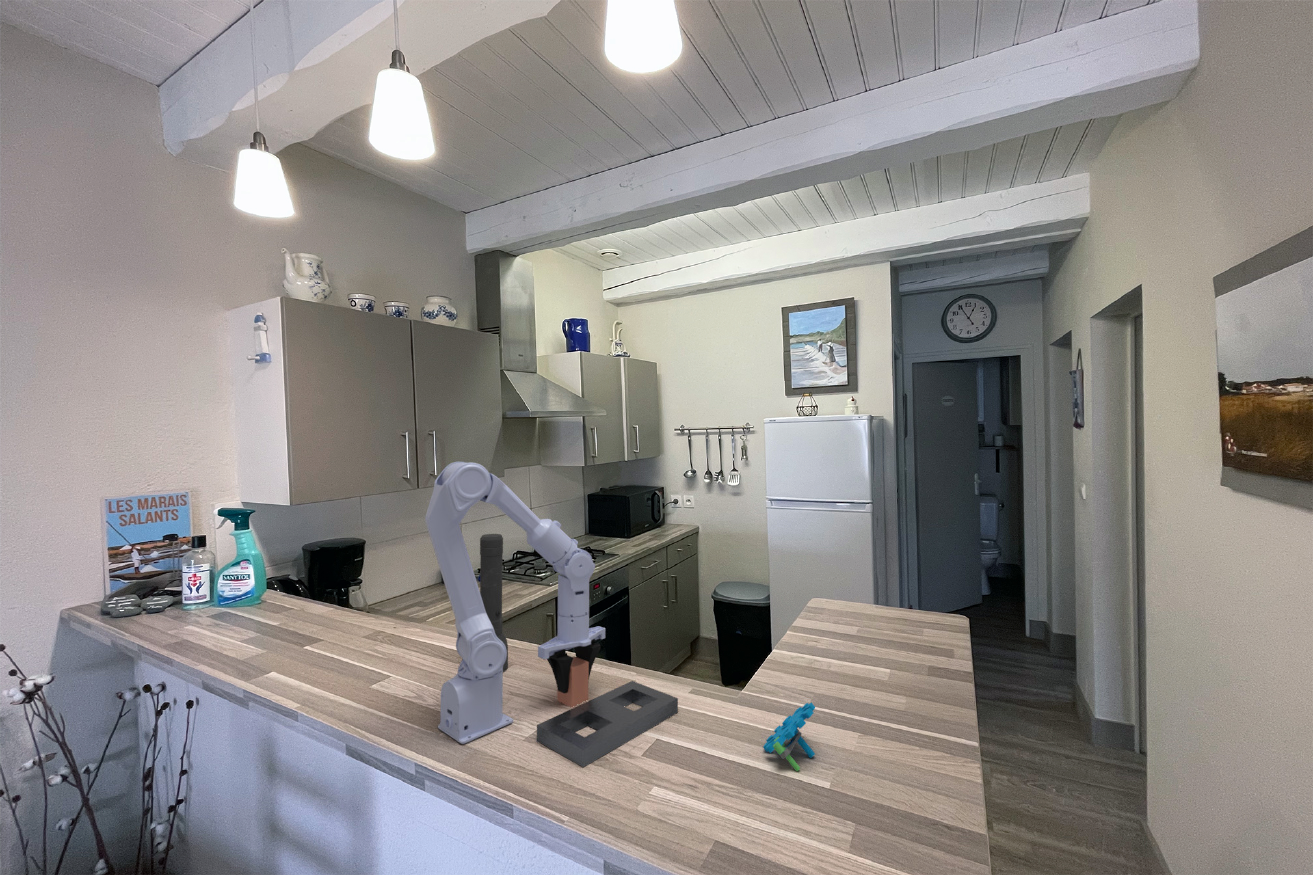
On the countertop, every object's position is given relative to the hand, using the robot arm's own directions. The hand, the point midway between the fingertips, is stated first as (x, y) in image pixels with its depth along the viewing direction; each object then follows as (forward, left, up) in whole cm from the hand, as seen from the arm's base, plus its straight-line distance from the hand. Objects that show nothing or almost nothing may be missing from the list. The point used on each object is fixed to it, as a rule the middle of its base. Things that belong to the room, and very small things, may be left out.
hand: (573, 686), depth 101 cm
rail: (-2, -12, -2) cm, 12 cm away
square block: (0, 0, -2) cm, 2 cm away
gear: (+10, -38, -3) cm, 40 cm away
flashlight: (-2, +24, -3) cm, 24 cm away
